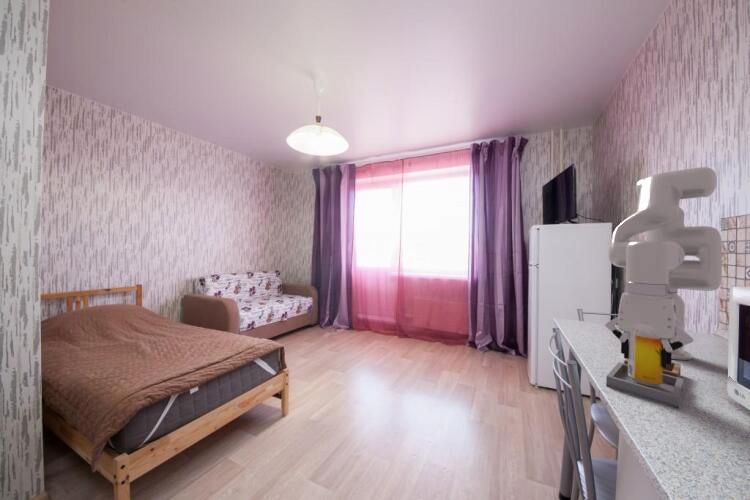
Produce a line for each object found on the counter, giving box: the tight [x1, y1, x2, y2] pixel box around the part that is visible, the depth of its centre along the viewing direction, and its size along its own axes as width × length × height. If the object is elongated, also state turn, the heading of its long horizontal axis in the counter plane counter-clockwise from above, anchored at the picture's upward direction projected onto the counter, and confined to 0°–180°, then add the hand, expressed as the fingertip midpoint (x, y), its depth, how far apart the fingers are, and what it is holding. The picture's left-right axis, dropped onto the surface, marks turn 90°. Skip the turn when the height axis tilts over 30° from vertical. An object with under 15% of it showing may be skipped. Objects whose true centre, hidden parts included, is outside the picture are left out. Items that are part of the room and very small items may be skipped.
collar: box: [623, 358, 682, 378], centre depth 74 cm, size 10×10×3 cm
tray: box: [605, 361, 684, 410], centre depth 66 cm, size 14×12×2 cm
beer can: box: [628, 322, 663, 386], centre depth 67 cm, size 6×6×15 cm
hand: (645, 360), depth 67 cm, fingers closed on beer can, 6 cm apart
